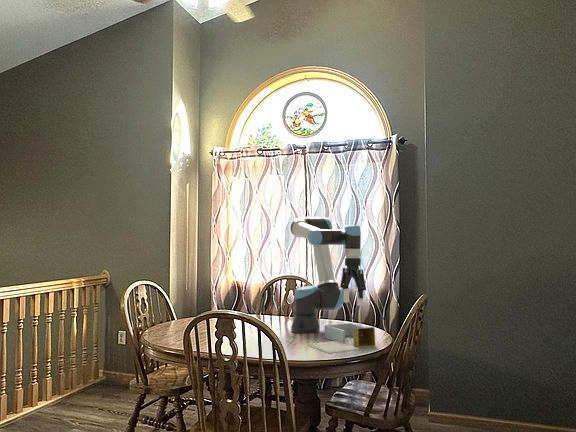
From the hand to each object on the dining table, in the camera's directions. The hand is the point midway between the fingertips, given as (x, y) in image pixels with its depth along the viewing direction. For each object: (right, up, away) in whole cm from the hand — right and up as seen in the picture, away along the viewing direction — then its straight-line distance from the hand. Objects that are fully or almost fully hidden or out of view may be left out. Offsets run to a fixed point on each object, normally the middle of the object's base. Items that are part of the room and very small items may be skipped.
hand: (352, 303), depth 253 cm
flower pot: (+2, -14, -4) cm, 15 cm away
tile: (-11, -17, -14) cm, 25 cm away
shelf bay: (-2, -18, +4) cm, 18 cm away
